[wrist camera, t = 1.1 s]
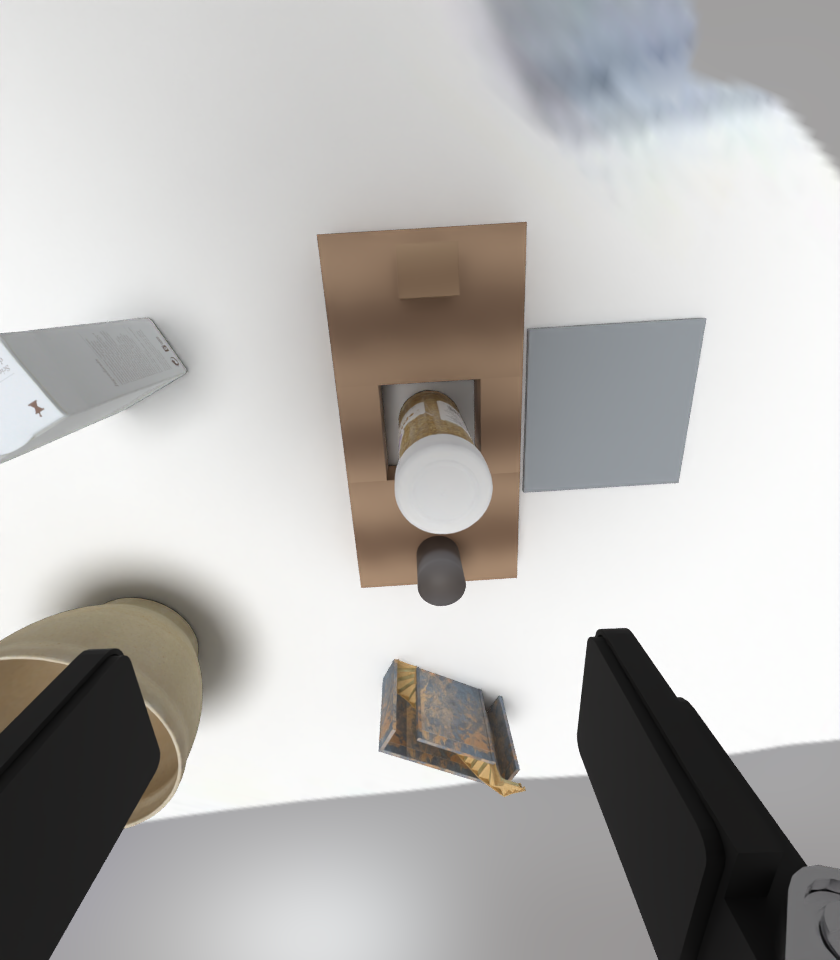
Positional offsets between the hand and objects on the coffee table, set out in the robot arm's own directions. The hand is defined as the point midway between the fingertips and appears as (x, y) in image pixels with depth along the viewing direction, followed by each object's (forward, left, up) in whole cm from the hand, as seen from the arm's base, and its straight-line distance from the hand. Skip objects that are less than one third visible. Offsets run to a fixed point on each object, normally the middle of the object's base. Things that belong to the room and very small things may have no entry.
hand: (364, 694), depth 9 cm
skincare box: (-4, -17, -25) cm, 31 cm away
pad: (+1, +16, -25) cm, 29 cm away
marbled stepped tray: (+27, +3, -26) cm, 37 cm away
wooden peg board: (+1, +3, -25) cm, 25 cm away
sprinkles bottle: (+1, +3, -25) cm, 25 cm away
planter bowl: (+19, -23, -25) cm, 39 cm away
